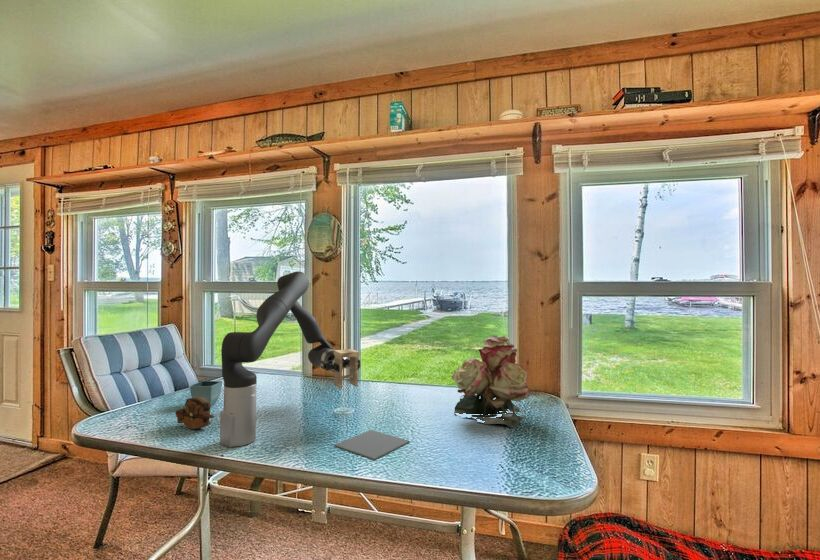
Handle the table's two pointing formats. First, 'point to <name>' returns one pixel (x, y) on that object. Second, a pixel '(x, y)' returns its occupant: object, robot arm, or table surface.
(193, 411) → the wooden carving
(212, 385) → the flower pot
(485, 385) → the rose bouquet
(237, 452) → the table surface
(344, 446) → the charcoal mat
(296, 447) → the table surface
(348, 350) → the pine stool
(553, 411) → the table surface
